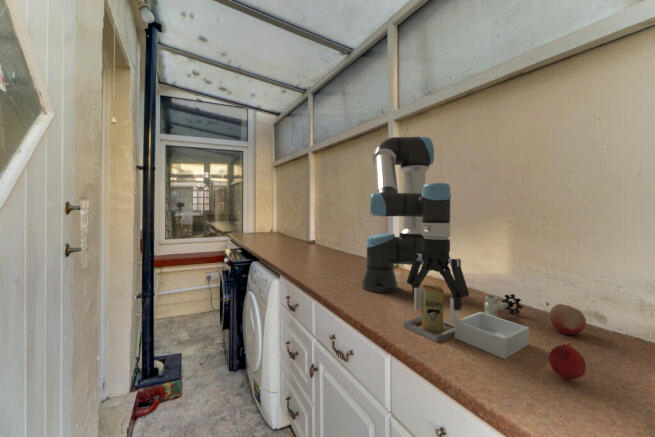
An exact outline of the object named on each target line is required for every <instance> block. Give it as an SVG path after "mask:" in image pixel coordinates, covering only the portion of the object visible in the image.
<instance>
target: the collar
mask: <svg viewBox="0 0 655 437" xmlns="http://www.w3.org/2000/svg"><path fill="white" fill-rule="evenodd" d="M418 324H422V315H421V316H418V317H415V318H412V319H409V320H405V321H403V322H402V327H403V328H406V329H408V330H410V331H412V332H414V333H417V334H419V335H421V336H422V337H425V338H426V339H429V340H431V341H433V342H435V343H438V342H440V341H443V340H445V339H448V338H450V337H453V336H455V323H454V324H453V323H452V322H450V321H449V322H448V321H447V320H446V321H445V320H443V328H447V330H445V331H443V332H442V333H431V332H428V331H426V330H424V329H423V327H420V326H417V325H418Z"/></svg>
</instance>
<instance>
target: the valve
mask: <svg viewBox="0 0 655 437" xmlns="http://www.w3.org/2000/svg"><path fill="white" fill-rule="evenodd" d="M521 301H522V300H521V298H517V297H516V295H515V294H513V293H512V294H511V293H510V295H509V294H504V299H502V301H499V298H498V296H494V295H484V304H483V309H484V311H483V313H486V314H489V315H492V316H495V317H498V318H499V313H498V312H500V311H503V310H508V312H509V314H511V315H513V314H516V315H517V314H520V313H521V310H522V309H523V308H524V306H523V305H522V304H520V302H521ZM513 307H515V308H513ZM519 309H521V310H519Z"/></svg>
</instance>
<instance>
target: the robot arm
mask: <svg viewBox="0 0 655 437" xmlns="http://www.w3.org/2000/svg"><path fill="white" fill-rule="evenodd" d="M434 148H435V146H434V144H433V141H432V139H431V138H430V137H428V136H398V137H397V136H393V137H389V138H386V139H384V140H383V141H381V142H380V143H379V144H378V145H377V146H376V148H375V149H374V151H373V154H372V163H373V166H374V167H375V168H374V170H375V171H374V172H375V173H374V174H375V192H373V193H371V194H370V201H369V202H370V204H369V208H370V209H369V212H370V215H371V216H374V217H375V216H378V217H403V224H402V225H403V226H402V227H403V228H402V230H401V231H399V236H396V234H395V233H393V232H390V233H388V232H386V233H376V234H371V235H369V236H368V237H367V239H366V246H365V247H366V268H365V269H366V270H365V273H364V276H363V279H362V280H361V287H362V289H364V290H366V291H370V292H374V293H393V292H395V291H396V292H397V291H398V282H397V279H396V274H395V270H394V269H395V268H394V267H395V265H406V266H408V265H409V266H410V269H409V274H408V276H407V279H406V284H408V285H411V287H412V293H411V294H412V295H411V296H412V298H413V310H414V311H419V310H422V298H423V286H422V285H421V284H422V283H423V281H424V279H425V278H426V277H427V275H428V273H429V272H430V271H434V272H437V273H439V274H440V275H441V276H442V278H443V280H444V281H445V283H446V285H447V287H448V289H449V291H450V293H451V295H452V296H450V298H449V302H450V304H449V308H450V309H449V323H451V324H453V323H455V322H456V321H459V319H460V318H459V317H460V316H459V311H461V309H462V305H463V304H462V299H463V298H465V297H466V298H467V297H469V296H470V292H469V289H468V286H467V283H466V280H465V277H464V276H465V275H464V274H463V273H464V272H463V270H462V264H461V263H462V261H461V258H451V257H450V252H451V240H450V239H449V238H450V237H451V198H452V194H451V186H450V184H449V183H445V182H433V183H431V182H430V183H426V172H427V171H428V170H430V166H432V165H433V164H434V162H435V161H434V160H435V149H434ZM395 166H400V170H401V172H403V176H404V178H403V180H404V181H403V183H404V184H403V193H402V192H399V190H398V189H399V187H398V180H397V179H398V178H397V174H396V167H395ZM449 266H450V267H451V268H450V267H449Z"/></svg>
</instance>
